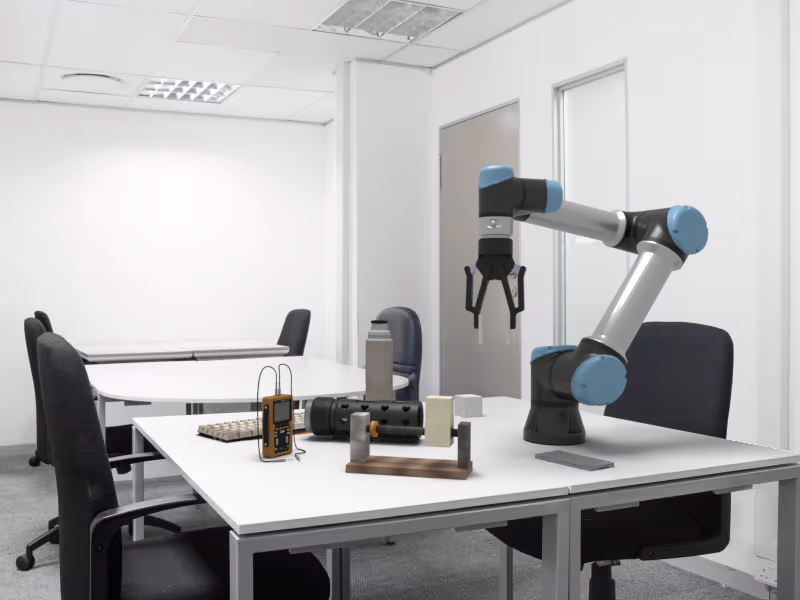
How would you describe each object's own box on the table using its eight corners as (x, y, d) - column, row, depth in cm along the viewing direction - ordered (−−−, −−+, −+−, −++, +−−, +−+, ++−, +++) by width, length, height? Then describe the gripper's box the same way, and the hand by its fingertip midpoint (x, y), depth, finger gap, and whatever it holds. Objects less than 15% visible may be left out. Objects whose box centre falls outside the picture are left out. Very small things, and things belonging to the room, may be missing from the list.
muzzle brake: (416, 447, 183) (417, 403, 183) (302, 441, 189) (302, 399, 188) (423, 439, 192) (424, 397, 192) (314, 434, 198) (314, 394, 198)
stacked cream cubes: (453, 442, 158) (454, 396, 158) (449, 447, 154) (450, 399, 154) (429, 441, 160) (429, 395, 160) (424, 446, 155) (424, 398, 155)
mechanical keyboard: (232, 447, 183) (232, 433, 183) (191, 437, 197) (191, 423, 197) (354, 429, 210) (354, 417, 210) (310, 421, 223) (310, 409, 223)
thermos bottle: (392, 414, 232) (393, 319, 232) (392, 418, 224) (392, 320, 224) (365, 414, 232) (366, 319, 232) (364, 418, 224) (365, 320, 224)
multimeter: (286, 466, 161) (286, 369, 161) (249, 460, 167) (250, 366, 167) (329, 453, 174) (329, 363, 174) (294, 448, 179) (294, 361, 179)
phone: (589, 474, 158) (589, 467, 158) (532, 460, 171) (532, 454, 171) (615, 469, 163) (616, 462, 163) (558, 455, 176) (558, 449, 176)
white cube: (454, 415, 231) (454, 395, 231) (471, 414, 234) (471, 394, 234) (464, 418, 226) (464, 397, 226) (482, 417, 228) (482, 396, 228)
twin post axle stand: (472, 468, 160) (472, 414, 160) (465, 479, 150) (465, 422, 150) (359, 461, 166) (360, 409, 166) (345, 472, 156) (346, 417, 156)
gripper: (451, 237, 169) (450, 344, 169) (537, 236, 165) (536, 346, 165) (456, 239, 177) (455, 342, 177) (539, 238, 172) (538, 344, 172)
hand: (494, 344), depth 171 cm, fingers open, 5 cm apart
